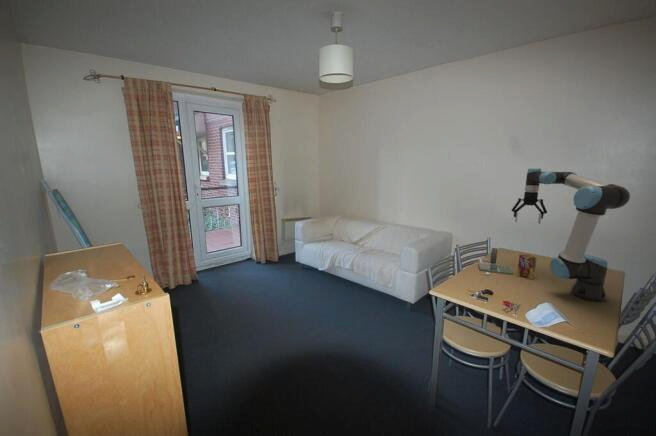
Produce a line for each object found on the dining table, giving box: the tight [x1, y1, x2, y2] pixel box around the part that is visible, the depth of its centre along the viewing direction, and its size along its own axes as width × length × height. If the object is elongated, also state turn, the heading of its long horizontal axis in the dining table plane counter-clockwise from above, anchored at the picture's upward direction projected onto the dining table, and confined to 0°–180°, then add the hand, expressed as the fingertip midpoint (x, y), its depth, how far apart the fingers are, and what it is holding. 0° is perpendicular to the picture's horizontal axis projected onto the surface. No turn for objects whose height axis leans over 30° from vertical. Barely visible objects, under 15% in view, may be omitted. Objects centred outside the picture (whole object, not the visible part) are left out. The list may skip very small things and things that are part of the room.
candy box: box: [516, 252, 538, 280], centre depth 193 cm, size 9×4×15 cm, turn 39°
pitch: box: [477, 258, 514, 276], centre depth 207 cm, size 13×20×6 cm, turn 69°
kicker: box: [488, 247, 499, 269], centre depth 206 cm, size 6×5×14 cm
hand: (527, 222), depth 199 cm, fingers open, 13 cm apart
